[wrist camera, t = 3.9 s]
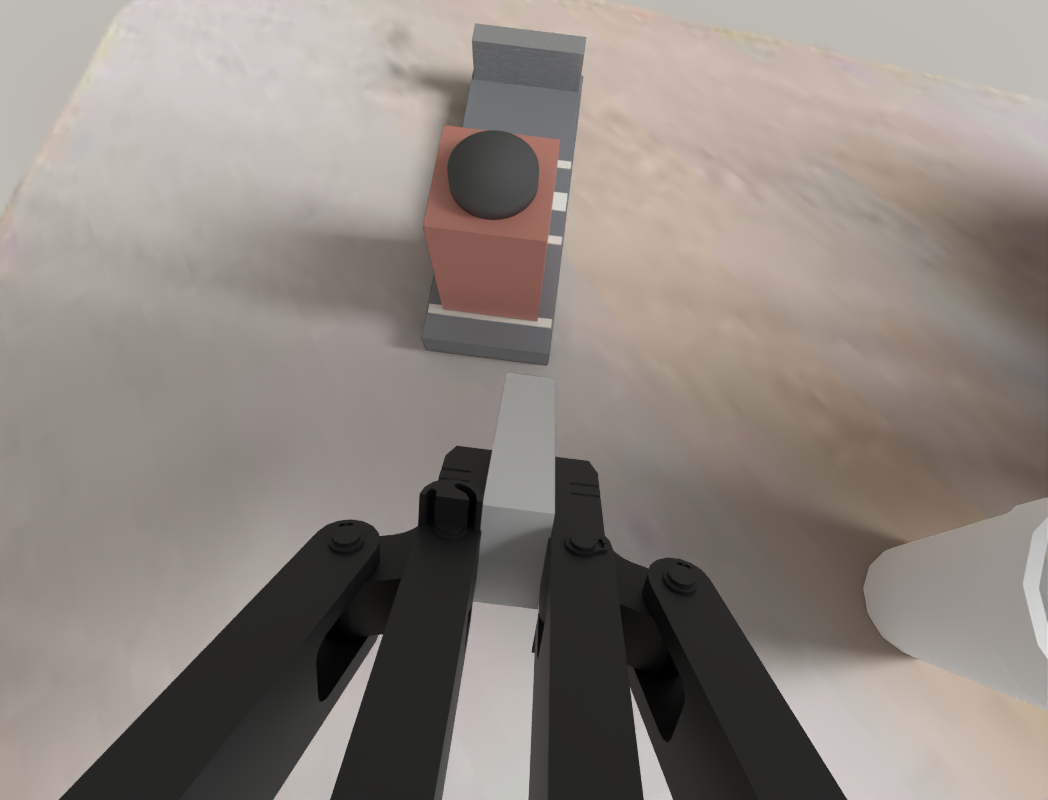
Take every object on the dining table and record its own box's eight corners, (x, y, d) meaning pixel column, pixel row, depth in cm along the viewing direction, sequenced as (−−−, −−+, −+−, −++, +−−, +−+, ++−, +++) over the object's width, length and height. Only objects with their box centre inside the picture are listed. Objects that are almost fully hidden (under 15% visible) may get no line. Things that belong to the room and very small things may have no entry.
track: (547, 365, 38) (553, 333, 33) (425, 349, 38) (413, 315, 33) (580, 97, 44) (589, 37, 39) (476, 84, 44) (472, 22, 40)
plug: (537, 321, 36) (548, 229, 27) (442, 309, 36) (419, 213, 27) (548, 238, 38) (562, 125, 29) (457, 226, 38) (441, 109, 29)
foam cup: (874, 705, 33) (1101, 784, 20) (813, 540, 35) (981, 520, 23) (1025, 662, 33) (1331, 712, 21) (954, 504, 36) (1190, 465, 24)
